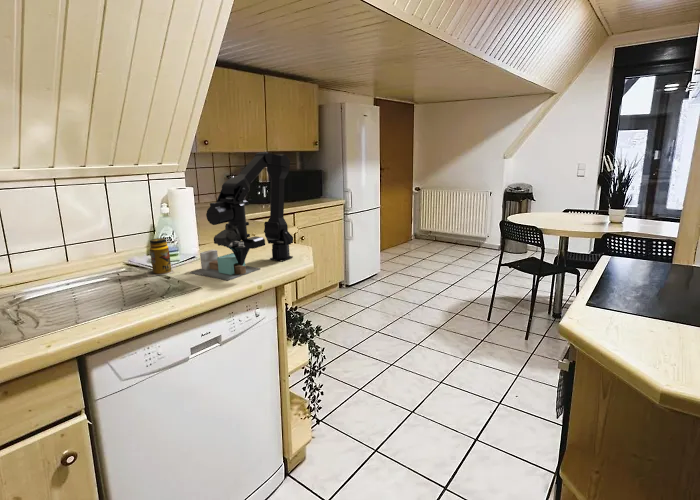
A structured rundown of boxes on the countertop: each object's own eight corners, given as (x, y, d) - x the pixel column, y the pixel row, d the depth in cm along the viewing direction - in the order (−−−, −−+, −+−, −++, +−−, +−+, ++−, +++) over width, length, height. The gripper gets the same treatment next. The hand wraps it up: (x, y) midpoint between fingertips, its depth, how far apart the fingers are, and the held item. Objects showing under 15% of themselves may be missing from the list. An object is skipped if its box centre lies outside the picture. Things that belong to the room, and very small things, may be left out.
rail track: (223, 262, 153) (221, 246, 152) (260, 269, 144) (258, 252, 142) (189, 273, 141) (187, 255, 140) (227, 280, 131) (225, 262, 130)
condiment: (174, 272, 142) (170, 239, 139) (148, 277, 138) (143, 243, 135) (170, 268, 148) (166, 236, 145) (145, 272, 143) (140, 239, 141)
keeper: (233, 267, 145) (232, 253, 144) (245, 269, 142) (244, 254, 140) (218, 272, 139) (217, 257, 138) (230, 274, 136) (229, 259, 135)
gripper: (198, 221, 132) (203, 267, 135) (239, 226, 122) (243, 275, 126) (224, 216, 141) (228, 259, 145) (264, 220, 132) (268, 266, 135)
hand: (241, 265), depth 137 cm, fingers closed
